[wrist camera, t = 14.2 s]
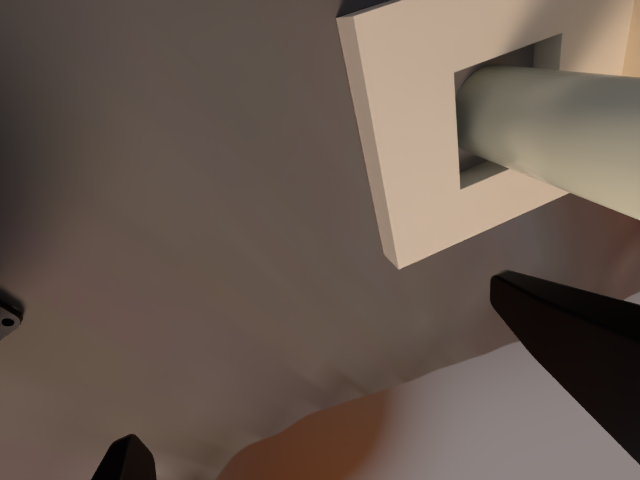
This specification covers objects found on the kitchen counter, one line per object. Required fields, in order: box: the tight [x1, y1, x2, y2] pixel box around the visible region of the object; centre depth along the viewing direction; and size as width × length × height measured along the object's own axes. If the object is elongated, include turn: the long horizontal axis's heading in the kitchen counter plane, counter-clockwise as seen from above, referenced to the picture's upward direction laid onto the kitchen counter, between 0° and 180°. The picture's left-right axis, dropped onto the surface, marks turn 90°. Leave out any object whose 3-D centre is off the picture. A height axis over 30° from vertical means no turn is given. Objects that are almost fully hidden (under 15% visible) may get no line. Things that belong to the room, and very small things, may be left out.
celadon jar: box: [455, 65, 640, 220], centre depth 16 cm, size 5×5×14 cm
